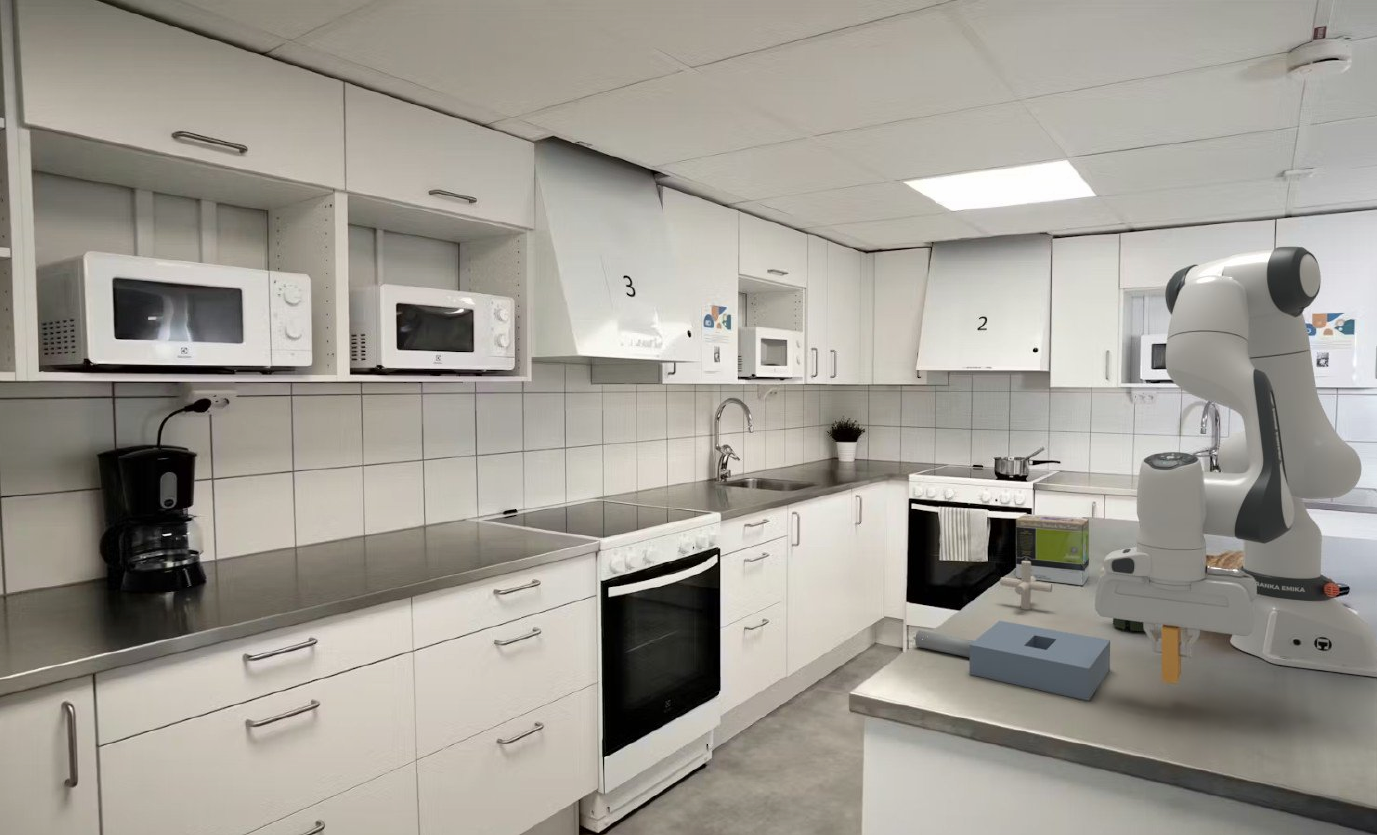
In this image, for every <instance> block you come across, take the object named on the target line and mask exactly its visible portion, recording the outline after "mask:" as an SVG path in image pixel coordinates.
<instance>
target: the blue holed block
mask: <svg viewBox="0 0 1377 835" xmlns="http://www.w3.org/2000/svg"><path fill="white" fill-rule="evenodd" d="M927 636H928V637H927ZM922 639H923V640H922ZM914 640H915V642H914V643H915V646H916V647H917V648H922V649H927V650H932V651H936V652H941V653H946V654H950V655H955V656H960V657H965V658H969V675H970V676H971V675H972V676H976V677H980V678H984V679H989V680H992V681H993V680H994V681H999V682H1001V683H1008V684H1012V685H1016V686H1020V687H1025V688H1030V689H1033V690H1038V691H1043V692H1048V693H1052V694H1057V695H1060V696H1061V695H1062V696H1065V697H1070V698H1074V699H1080V700H1083V701H1090V700H1091V698H1092V697H1093V695H1094V693H1095V692H1097V689H1098V688H1099V686H1100V685H1101V683H1103V680H1104V679H1105V677H1106V676H1107V674H1109V671H1110V670H1111V662H1110V661H1111V639H1106V638H1101V637H1100V638H1099V637H1094V636H1088V635H1082V634H1078V633H1071V632H1066V631H1061V630H1055V629H1049V628H1043V627H1037V626H1033V625H1027V624H1020V623H1017V622H1015V623H1014V622H1010V621H1003V620H998V621H997V622H996V623H994V624H993V625H992V626H991V627H990V628H988V629H987V630H986V631H985V632H984V633H982V634H980V636H979V637H978V638H976V639H975V640H973V639H967V638H961V637H956V636H951V635H946V634H940V633H935V632H931V631H926V630H921V629H919V630H917V632H916V635H915V639H914Z"/></svg>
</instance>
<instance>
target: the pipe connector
mask: <svg viewBox="0 0 1377 835" xmlns="http://www.w3.org/2000/svg"><path fill="white" fill-rule="evenodd" d="M999 580H1000V582H999V583H1000V586H1002V587H1004V586H1005V587H1010V588H1015V589H1014V592H1015V593H1016V594H1017V595H1019V596H1021V597H1020V609H1022V610H1025V611H1026V610H1027V611H1029V610H1031V599H1032V598H1031V596H1032V595H1031V591H1038V592H1044V593H1052V591H1053V584H1052V583H1046V582H1039V581H1038V580H1036V578H1035V577H1033V576H1031V562H1030V561H1022V570H1021V578H1010V577H1000V579H999Z"/></svg>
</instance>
